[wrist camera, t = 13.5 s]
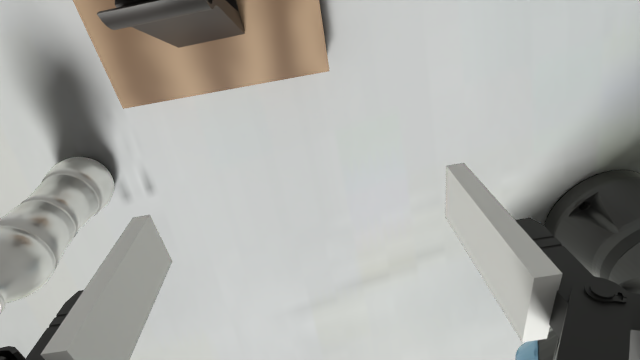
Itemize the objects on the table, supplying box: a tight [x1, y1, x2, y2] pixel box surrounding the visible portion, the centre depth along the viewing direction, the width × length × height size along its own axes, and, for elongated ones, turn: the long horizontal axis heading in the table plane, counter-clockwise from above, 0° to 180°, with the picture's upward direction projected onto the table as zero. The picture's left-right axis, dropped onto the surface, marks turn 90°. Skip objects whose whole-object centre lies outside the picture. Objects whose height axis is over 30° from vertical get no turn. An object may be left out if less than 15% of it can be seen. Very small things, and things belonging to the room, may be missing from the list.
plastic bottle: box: [0, 157, 115, 314], centre depth 34 cm, size 6×7×20 cm
